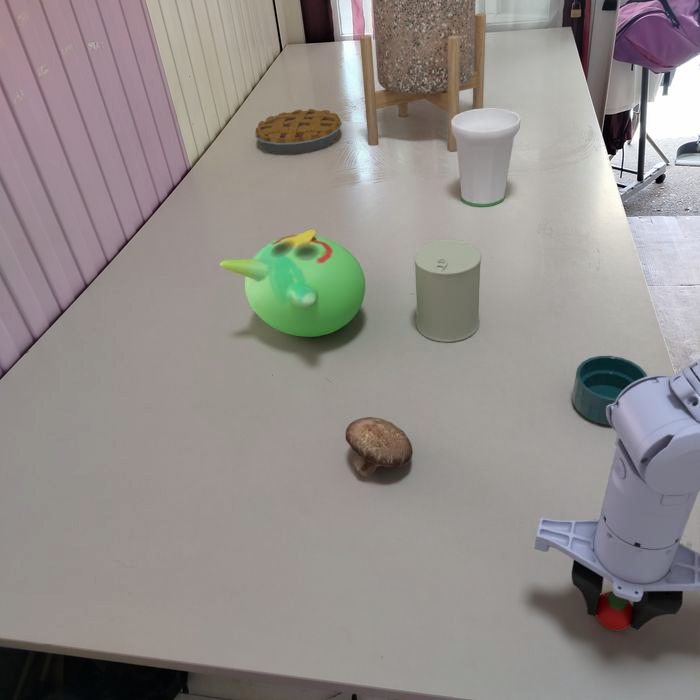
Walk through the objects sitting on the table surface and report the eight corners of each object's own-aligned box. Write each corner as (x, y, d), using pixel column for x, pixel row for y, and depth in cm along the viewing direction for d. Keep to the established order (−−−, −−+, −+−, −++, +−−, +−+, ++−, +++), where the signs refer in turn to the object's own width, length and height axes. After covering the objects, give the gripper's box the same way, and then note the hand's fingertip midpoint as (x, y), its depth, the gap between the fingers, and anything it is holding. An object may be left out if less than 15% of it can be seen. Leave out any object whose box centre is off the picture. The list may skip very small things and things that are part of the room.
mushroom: (342, 480, 68) (361, 427, 67) (329, 451, 76) (346, 403, 75) (408, 495, 70) (428, 444, 69) (389, 466, 78) (406, 419, 77)
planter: (457, 152, 144) (457, -9, 124) (366, 146, 153) (352, -5, 133) (484, 118, 159) (488, -30, 139) (400, 114, 168) (392, -25, 148)
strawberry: (631, 610, 57) (639, 588, 55) (628, 642, 55) (636, 621, 53) (594, 599, 59) (600, 577, 56) (590, 630, 56) (595, 609, 54)
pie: (341, 152, 150) (339, 131, 147) (251, 160, 152) (246, 140, 149) (344, 121, 167) (342, 101, 164) (263, 128, 169) (259, 109, 166)
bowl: (643, 390, 79) (650, 362, 76) (639, 434, 74) (646, 406, 71) (576, 377, 82) (581, 350, 79) (567, 419, 76) (571, 392, 74)
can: (407, 336, 92) (404, 265, 85) (426, 301, 99) (425, 232, 91) (470, 347, 89) (472, 274, 82) (485, 310, 95) (489, 239, 88)
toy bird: (387, 310, 98) (381, 224, 89) (327, 374, 87) (312, 284, 78) (294, 284, 106) (279, 203, 97) (228, 340, 96) (205, 256, 87)
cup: (485, 178, 132) (488, 103, 122) (529, 197, 123) (535, 118, 113) (437, 197, 127) (437, 120, 117) (479, 218, 118) (482, 137, 109)
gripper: (533, 532, 47) (521, 625, 56) (756, 593, 42) (705, 685, 51) (549, 464, 52) (535, 559, 61) (750, 510, 47) (704, 607, 56)
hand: (613, 611), depth 56 cm, fingers closed on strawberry, 3 cm apart
